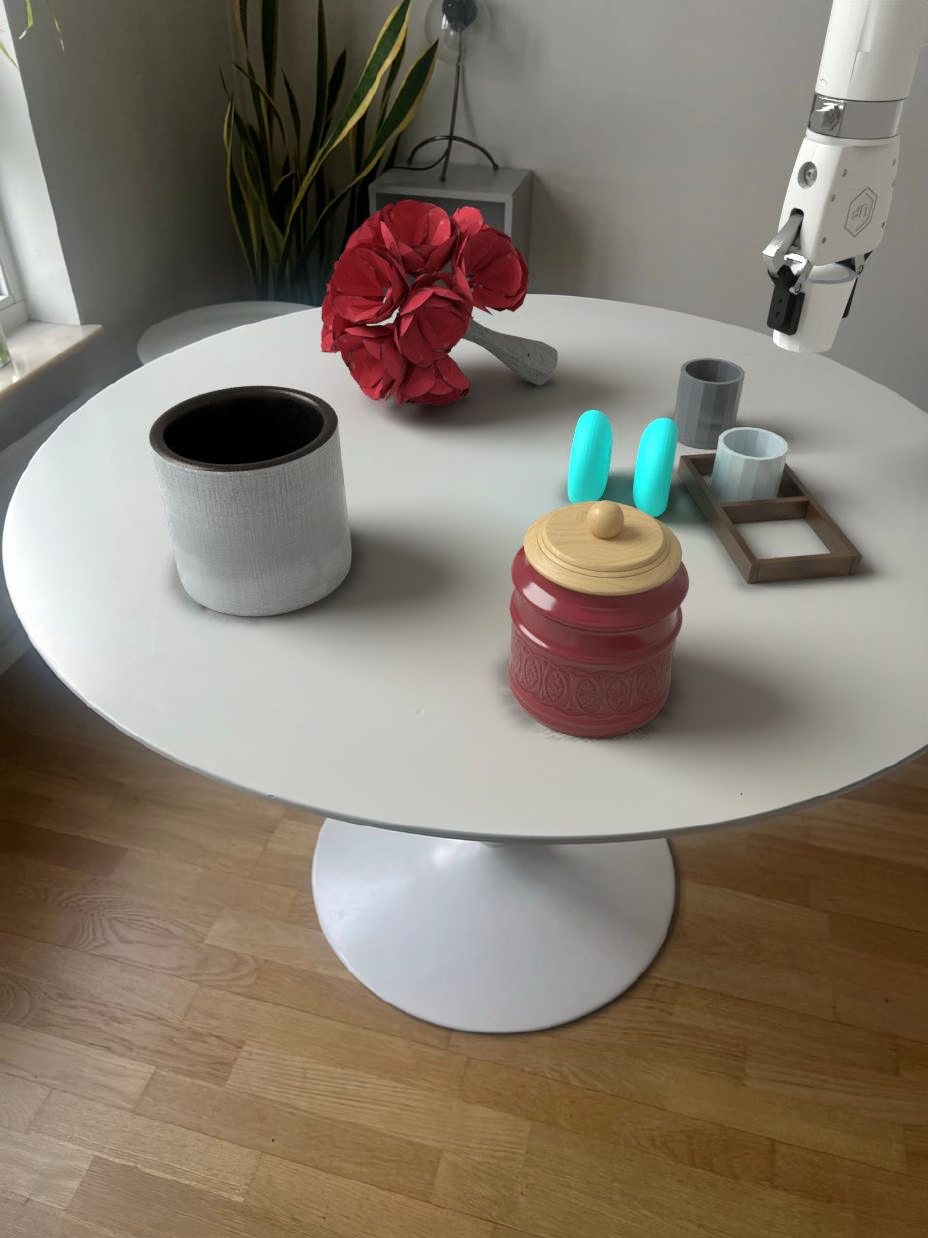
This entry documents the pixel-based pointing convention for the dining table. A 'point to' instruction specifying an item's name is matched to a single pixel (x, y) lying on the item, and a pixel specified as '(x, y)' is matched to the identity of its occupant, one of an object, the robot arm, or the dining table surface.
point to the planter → (254, 498)
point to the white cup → (819, 308)
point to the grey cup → (707, 401)
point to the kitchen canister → (595, 618)
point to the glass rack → (794, 507)
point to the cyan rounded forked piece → (595, 459)
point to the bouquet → (426, 303)
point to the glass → (748, 465)
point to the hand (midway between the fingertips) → (807, 320)
